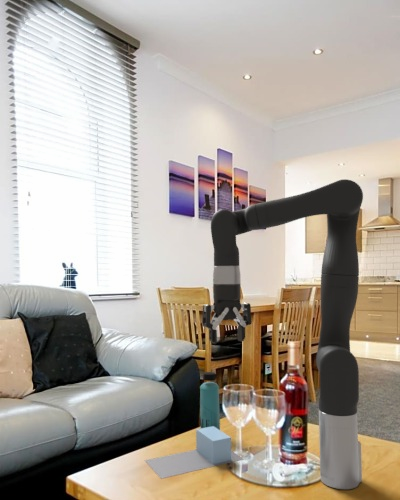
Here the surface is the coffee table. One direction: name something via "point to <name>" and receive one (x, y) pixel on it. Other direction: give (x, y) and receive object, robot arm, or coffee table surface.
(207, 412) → the beverage bottle
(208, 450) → the pale blue upright block
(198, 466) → the stub board
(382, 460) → the coffee table surface
